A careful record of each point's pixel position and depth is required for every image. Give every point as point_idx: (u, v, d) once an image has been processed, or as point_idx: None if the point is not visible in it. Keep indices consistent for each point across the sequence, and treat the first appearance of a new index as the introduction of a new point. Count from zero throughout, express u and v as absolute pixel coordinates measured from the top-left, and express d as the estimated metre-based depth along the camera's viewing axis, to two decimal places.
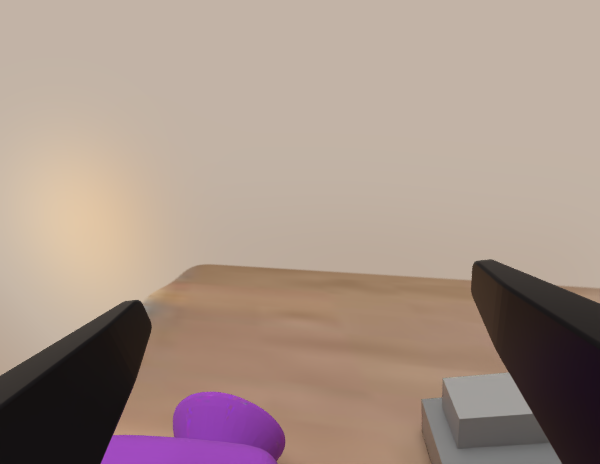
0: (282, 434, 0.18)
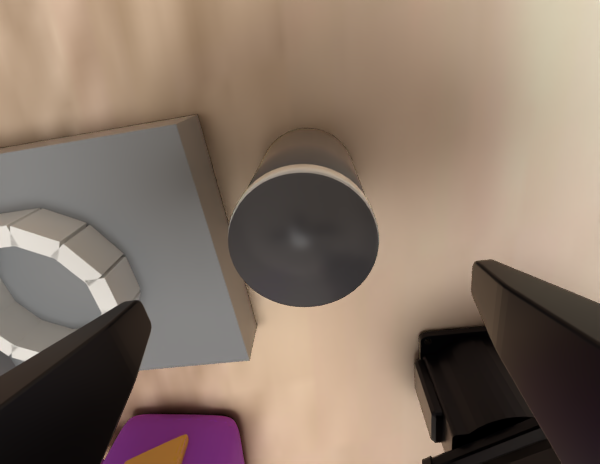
0: None
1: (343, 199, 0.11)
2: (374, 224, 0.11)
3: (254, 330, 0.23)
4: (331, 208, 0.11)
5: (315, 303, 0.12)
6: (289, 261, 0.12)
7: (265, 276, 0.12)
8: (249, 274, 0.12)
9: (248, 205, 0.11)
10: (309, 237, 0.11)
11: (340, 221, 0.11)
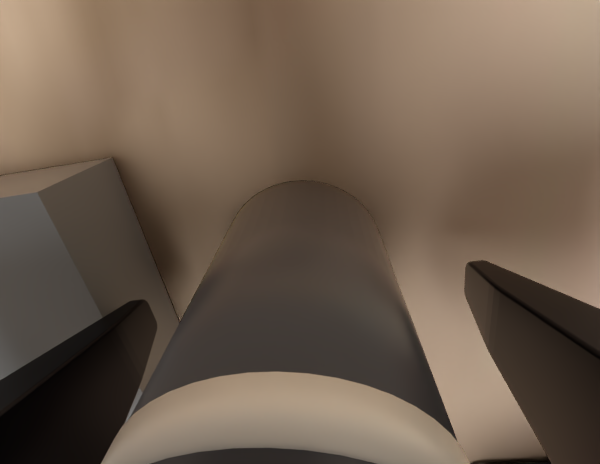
0: None
1: None
2: None
3: None
4: None
5: None
6: None
7: None
8: None
9: None
10: None
11: None
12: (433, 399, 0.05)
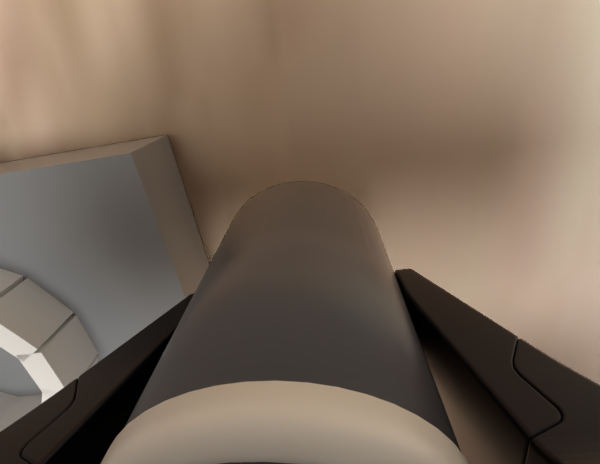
0: None
1: None
2: None
3: None
4: None
5: None
6: None
7: None
8: None
9: None
10: None
11: None
12: (436, 407, 0.04)
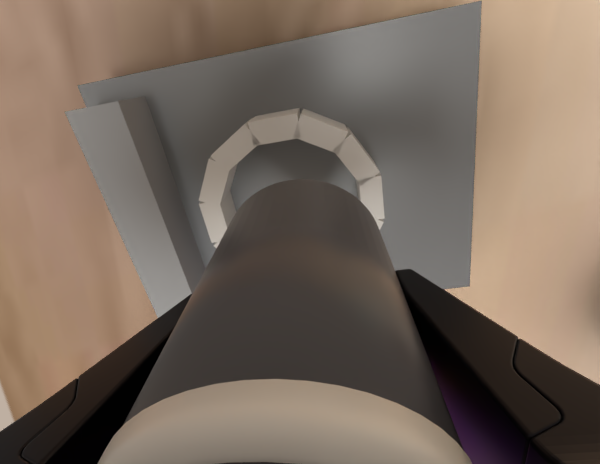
0: None
1: None
2: None
3: None
4: None
5: None
6: None
7: None
8: None
9: None
10: None
11: None
12: (438, 406, 0.04)
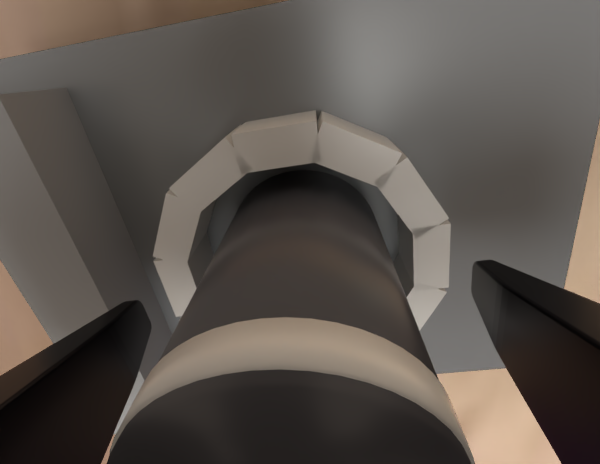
0: None
1: (398, 436, 0.04)
2: None
3: None
4: (364, 451, 0.04)
5: None
6: None
7: None
8: None
9: (144, 441, 0.04)
10: None
11: None
12: (419, 349, 0.05)
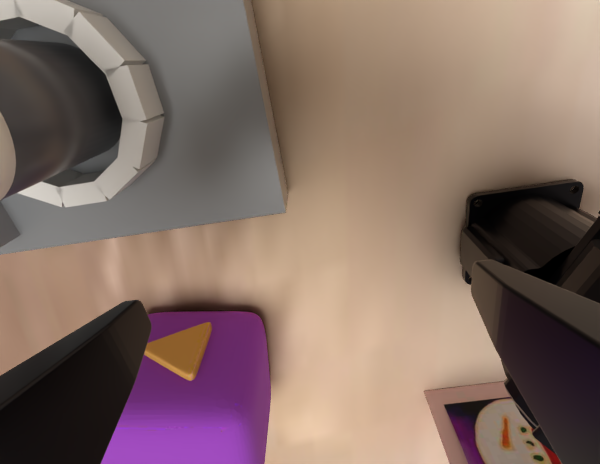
0: None
1: None
2: None
3: (286, 192, 0.20)
4: None
5: None
6: None
7: None
8: None
9: None
10: None
11: None
12: None
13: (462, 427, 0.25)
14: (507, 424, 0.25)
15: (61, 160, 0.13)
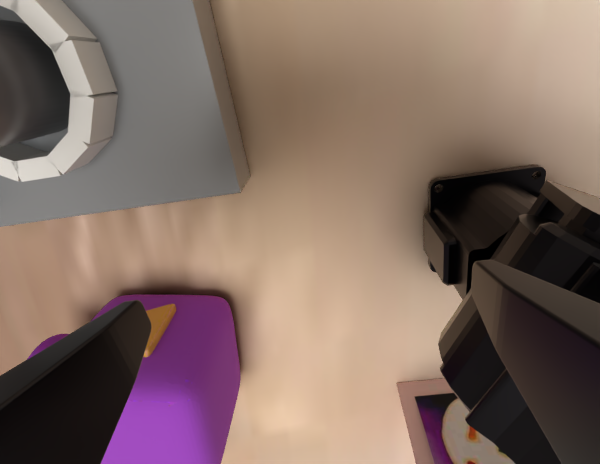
0: (36, 350, 0.22)
1: None
2: None
3: (247, 175, 0.21)
4: None
5: None
6: None
7: None
8: None
9: None
10: None
11: None
12: None
13: (430, 418, 0.25)
14: None
15: (1, 129, 0.13)
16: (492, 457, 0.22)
